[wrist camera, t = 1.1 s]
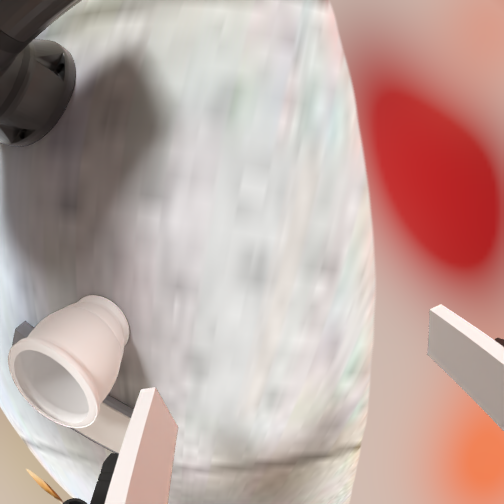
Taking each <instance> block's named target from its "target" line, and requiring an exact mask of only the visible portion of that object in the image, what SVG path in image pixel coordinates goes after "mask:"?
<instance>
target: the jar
mask: <svg viewBox="0 0 504 504" xmlns="http://www.w3.org/2000/svg"><path fill="white" fill-rule="evenodd" d="M128 339H129V325H128V322H127V319H126V317H125V315H124V314H123V312H122V311H121V310H120V308H119V307H118V306H117V305H116V304H114V303H113V302H112V301H110V300H108V299H107V298H104V297H102V296H97V295H90V296H86V297H83V298H82V299H80V300H79V301H78V302H77V303H74V304H71V305H68V306H66V307H64V308H63V309H60V310H58V311H55V312H53V313H52V314H50V315H48V316H47V317H45V318H44V319H43V320H42V321H41V322H39V323H38V324H37V325H36V327H35V328H34V329H33V330H32V331H31V333H30V334H29V335H28V337H27V338H23V339H21V340H19V341H18V342H17V343H15V344H14V345H13V346H12V347H11V349H10V352H9V356H8V364H9V369H10V373H11V376H12V378H13V381H14V383H15V384H16V386H17V388H18V390H19V391H20V393H21V394H22V395H23V397H24V398H25V399H26V400H27V401H28V402H29V403H30V404H31V405H32V406H33V407H34V408H35V409H36V410H37V411H38V412H40V413H41V414H42V415H44V416H45V417H47V418H48V419H50V420H52V421H54V422H56V423H58V424H60V425H63V426H67V427H71V428H83V427H87V426H89V425H91V424H92V423H93V422H94V421H95V419H96V418H97V416H98V414H99V411H100V404H101V403H102V401H103V400H104V399H105V398H106V396H107V395H108V394H109V392H110V391H111V389H112V387H113V385H114V383H115V381H116V378H117V376H118V373H119V369H120V364H121V360H122V357H123V352H124V346H125V345H126V343H127V341H128Z"/></svg>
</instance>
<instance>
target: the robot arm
mask: <svg viewBox="0 0 504 504" xmlns="http://www.w3.org/2000/svg"><path fill="white" fill-rule="evenodd" d="M80 1H82V0H0V142H1V143H3V144H6V145H11V146H26V145H30V144H32V143H34V142H36V141H38V140H39V139H41V138H42V137H43V136H44V135H46V134H47V133H48V132H49V131H50V130H51V129H52V127H53V126H54V125H55V124H56V123H57V121H58V120H59V118H60V117H61V115H62V114H63V112H64V110H65V108H66V106H67V104H68V102H69V100H70V97H71V94H72V91H73V87H74V82H75V64H74V60H73V58H72V56H71V54H70V53H69V52H68V51H67V50H66V49H65V48H64V47H62V46H61V45H60V44H58V43H56V42H53V41H50V40H40V39H35V38H36V37H37V36H38V35H39V34H40V33H41V32H42V31H43V30H45V29H46V28H47V27H48V26H49V25H50V24H52V23H53V22H54V21H55V20H57V19H58V18H59V17H60V16H62V15H63V14H64V13H65V12H67V11H68V10H69V9H71V8H72V7H73V6H75V5H76V4H77V3H79V2H80ZM427 355H428V356H429V357H430V358H431V359H433V360H434V362H436V363H437V364H438V365H439V366H440V367H441V368H442V369H443V370H444V371H445V372H446V373H447V374H448V375H449V376H450V377H451V378H452V379H453V380H454V381H455V382H456V383H457V384H458V385H459V386H460V387H461V388H462V389H463V390H464V391H465V392H466V393H467V394H468V395H469V396H470V397H471V398H472V399H473V400H474V401H475V402H476V403H477V404H478V405H479V406H480V407H481V408H482V409H483V410H484V411H485V412H486V413H487V414H488V415H489V416H490V417H491V418H492V419H493V421H494V422H495V423H496V424H497V425H498V426H499V427H500V428H501V429H502V430H503V431H504V340H503V339H500V338H496V339H495V340H493V339H492V338H490V337H489V336H487V335H486V334H485V333H483V332H482V331H480V330H479V329H477V328H476V327H475V326H473V325H472V324H470V323H469V322H467V321H466V320H464V319H463V318H461V317H460V316H458V315H457V314H455V313H453V312H452V311H451V310H449V309H448V308H446V307H445V306H443V305H442V304H440V305H438V306H436V307H434V308H431V309H430V310H429V337H428V352H427ZM177 432H178V426H177V424H176V422H175V421H174V419H173V417H172V416H171V414H170V412H169V410H168V409H167V407H166V405H165V403H164V401H163V400H162V398H161V396H160V394H159V392H158V390H157V389H156V387H153V388H146V389H141V391H140V393H139V396H138V399H137V402H136V405H135V408H134V411H133V414H132V416H131V419H130V422H129V425H128V428H127V431H126V434H125V437H124V440H123V444H122V447H121V450H120V453H111V454H110V455H109V456H108V458H107V459H106V460H105V461H104V463H103V466H102V469H101V474H100V475H99V478H98V480H99V481H97V484H96V487H95V490H94V493H93V497H92V500H91V503H90V504H168V498H169V490H170V482H171V474H172V467H173V460H174V452H175V445H176V439H177ZM63 504H87V503H86V502H85V501H83V500H81V499H77V498H72V499H69V500H67V501H65V502H64V503H63Z"/></svg>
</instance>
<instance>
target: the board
mask: <svg viewBox="0 0 504 504" xmlns="http://www.w3.org/2000/svg"><path fill="white" fill-rule="evenodd" d="M133 411H134V409H132V408H130V407H129V406H127V405H125V404H123V403H121V402H120V401H118V400H116V399H114V398H113V397H111V396H109V395H107V396H106V398H105V399H104V400H103V401H102V403H101V404H100V411H99V414H98V416H97V418H96V419H95V421H94V422H93V423H92V424H91V425H89V426H87V427H83V428H71V427H70V428H71V429H73V430H75V431H76V432H78V433H80V434H81V435H83V436H85V437H86V438H88V439H90V440H92V441H93V442H95V443H97V444H99V445H101V446H102V447H104V448H106V449H108V450H110V451H112V452H114V453H120V450H121V447H122V444H123V440H124V437H125V434H126V431H127V428H128V425H129V422H130V419H131V416H132V414H133Z"/></svg>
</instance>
